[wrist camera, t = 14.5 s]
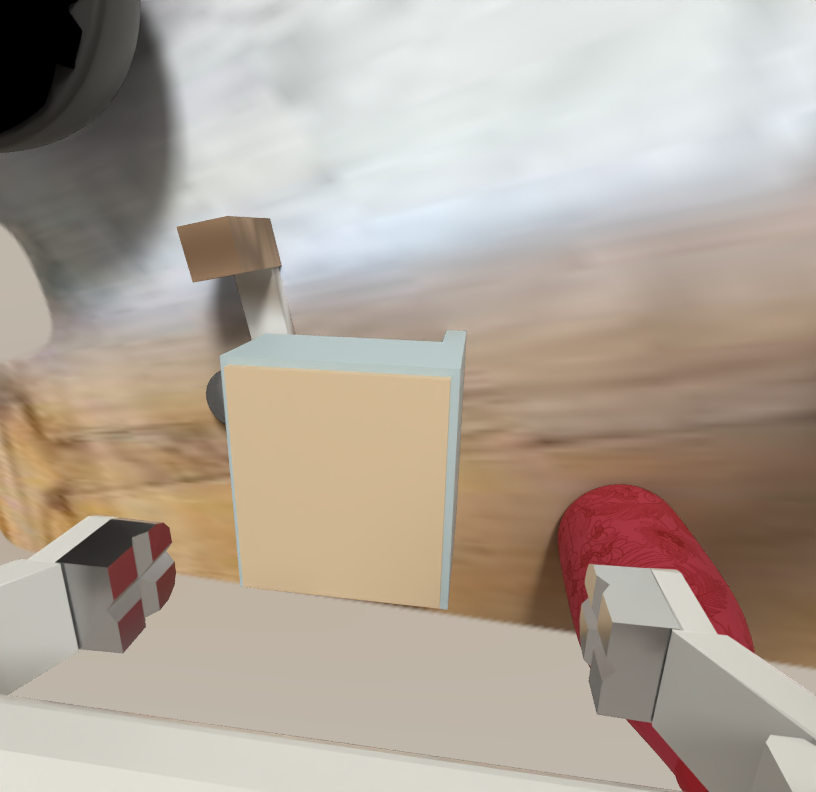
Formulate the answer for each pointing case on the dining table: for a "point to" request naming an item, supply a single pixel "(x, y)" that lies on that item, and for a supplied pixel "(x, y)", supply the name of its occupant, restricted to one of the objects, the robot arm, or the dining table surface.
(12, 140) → the coal bowl
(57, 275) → the dining table surface
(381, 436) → the cabinet
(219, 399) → the steel puck
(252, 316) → the wood-handled metal tool
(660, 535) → the wine bottle
